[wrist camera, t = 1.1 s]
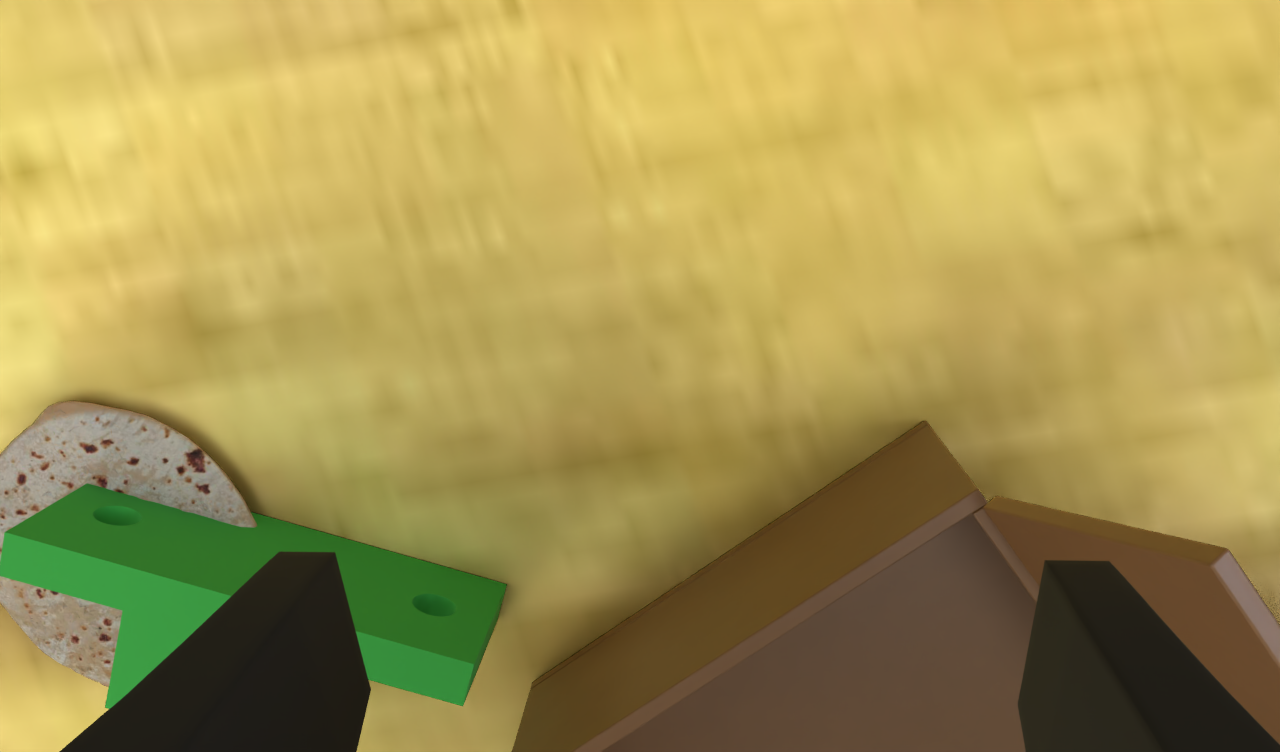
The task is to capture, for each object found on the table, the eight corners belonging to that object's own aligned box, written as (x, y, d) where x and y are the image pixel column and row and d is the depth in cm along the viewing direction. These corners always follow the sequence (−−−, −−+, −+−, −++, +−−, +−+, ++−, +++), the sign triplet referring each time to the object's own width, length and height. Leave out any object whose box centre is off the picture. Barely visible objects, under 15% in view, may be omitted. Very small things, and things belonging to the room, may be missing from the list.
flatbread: (320, 613, 30) (307, 630, 29) (89, 714, 31) (69, 733, 30) (168, 348, 28) (150, 356, 27) (-68, 463, 29) (-95, 475, 28)
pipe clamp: (88, 592, 30) (-20, 673, 26) (109, 469, 29) (2, 530, 25) (476, 704, 30) (436, 804, 26) (509, 584, 29) (473, 666, 25)
